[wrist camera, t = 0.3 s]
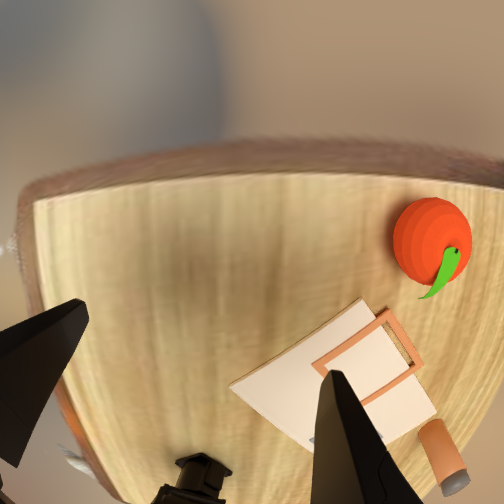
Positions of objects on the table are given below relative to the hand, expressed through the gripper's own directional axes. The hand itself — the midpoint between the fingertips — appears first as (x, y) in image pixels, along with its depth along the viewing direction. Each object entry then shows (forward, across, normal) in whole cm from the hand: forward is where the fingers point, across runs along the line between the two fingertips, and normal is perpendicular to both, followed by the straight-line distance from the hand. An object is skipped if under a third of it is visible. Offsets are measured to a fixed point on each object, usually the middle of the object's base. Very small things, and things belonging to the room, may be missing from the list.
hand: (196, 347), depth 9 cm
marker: (+10, -30, +23) cm, 39 cm away
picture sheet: (+11, -15, +18) cm, 26 cm away
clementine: (+16, -14, 0) cm, 21 cm away
